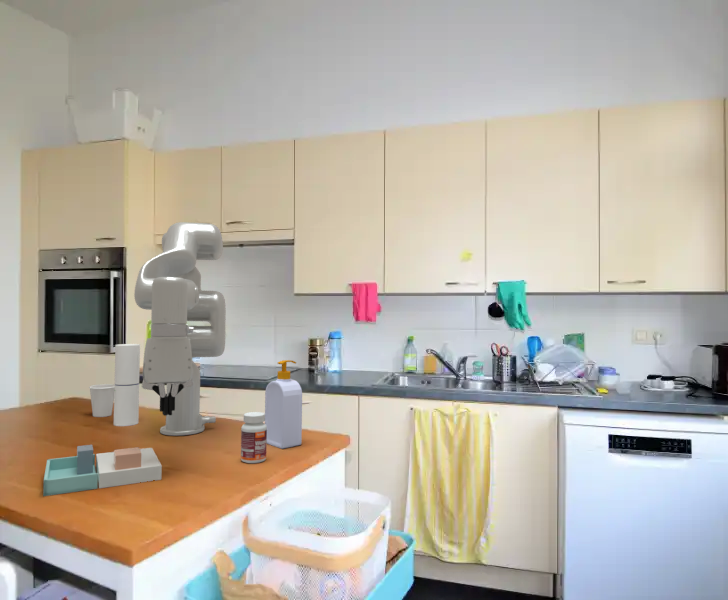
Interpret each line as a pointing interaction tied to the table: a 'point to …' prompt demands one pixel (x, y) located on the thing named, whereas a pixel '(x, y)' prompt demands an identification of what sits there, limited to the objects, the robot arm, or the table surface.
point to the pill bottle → (253, 438)
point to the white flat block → (127, 470)
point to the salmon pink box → (127, 458)
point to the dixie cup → (102, 399)
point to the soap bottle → (283, 410)
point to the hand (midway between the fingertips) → (167, 414)
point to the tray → (67, 477)
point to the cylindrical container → (126, 384)
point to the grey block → (84, 459)
